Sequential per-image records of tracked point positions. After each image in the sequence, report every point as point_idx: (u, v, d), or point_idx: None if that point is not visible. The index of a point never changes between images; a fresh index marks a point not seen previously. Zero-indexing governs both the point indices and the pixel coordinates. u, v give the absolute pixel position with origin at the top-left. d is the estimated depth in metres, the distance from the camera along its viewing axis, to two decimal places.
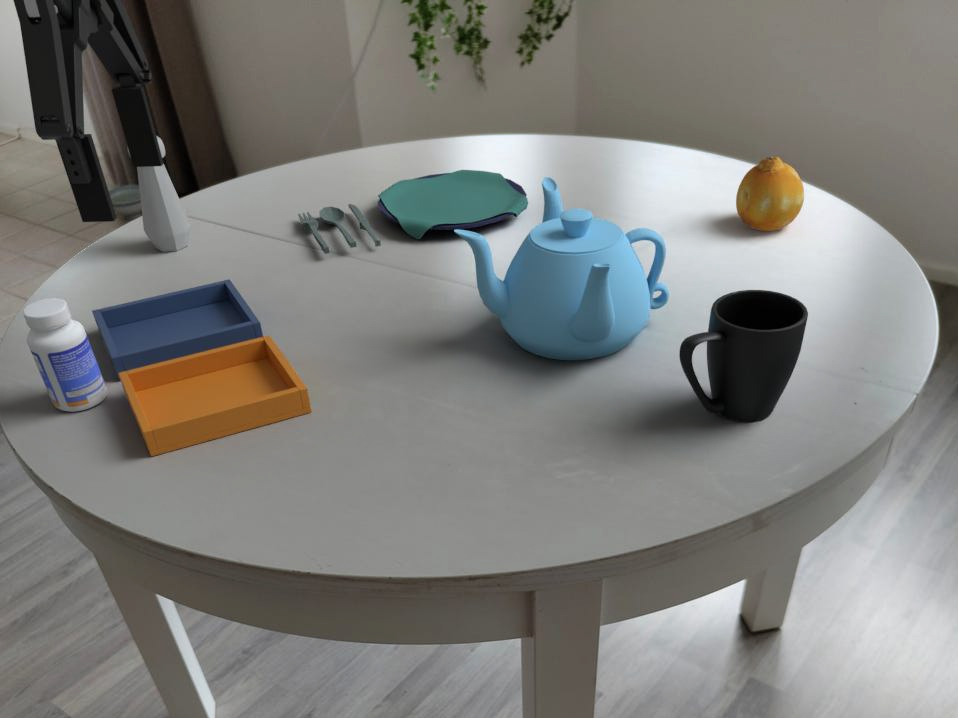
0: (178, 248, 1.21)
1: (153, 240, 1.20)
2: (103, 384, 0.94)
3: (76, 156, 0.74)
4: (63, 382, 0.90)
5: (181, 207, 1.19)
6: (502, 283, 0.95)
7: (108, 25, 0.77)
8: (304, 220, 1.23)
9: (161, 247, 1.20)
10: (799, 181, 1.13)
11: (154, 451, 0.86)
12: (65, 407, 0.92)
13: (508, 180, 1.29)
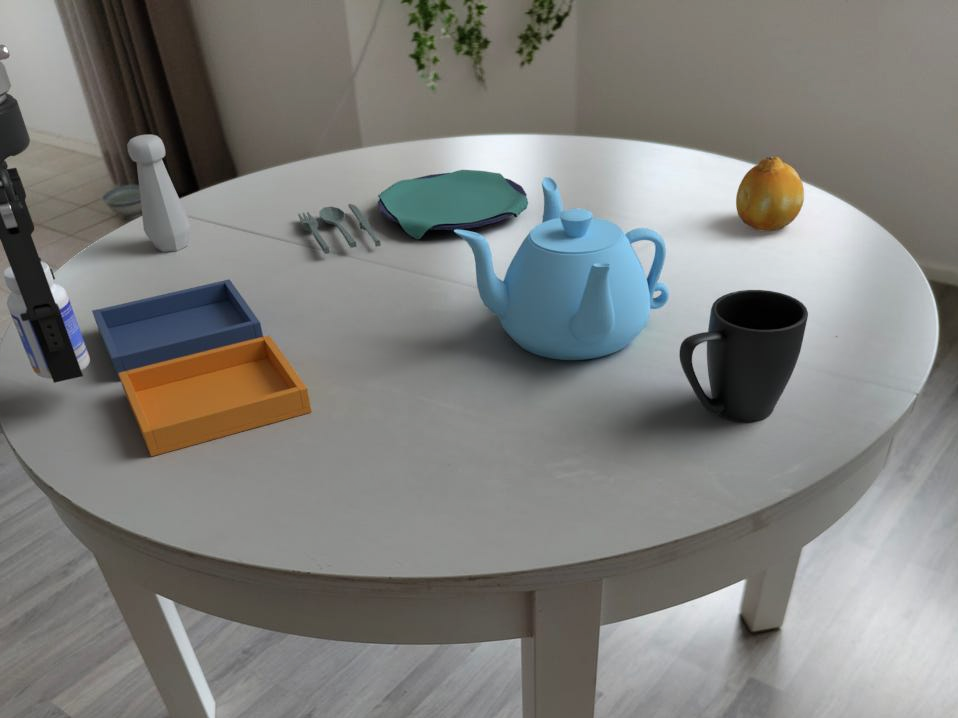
0: (178, 248, 1.21)
1: (153, 240, 1.20)
2: (85, 351, 0.91)
3: (55, 329, 0.85)
4: None
5: (181, 207, 1.19)
6: (502, 283, 0.95)
7: None
8: (304, 220, 1.23)
9: (161, 247, 1.20)
10: (799, 181, 1.13)
11: (154, 451, 0.86)
12: (45, 374, 0.90)
13: (508, 180, 1.29)
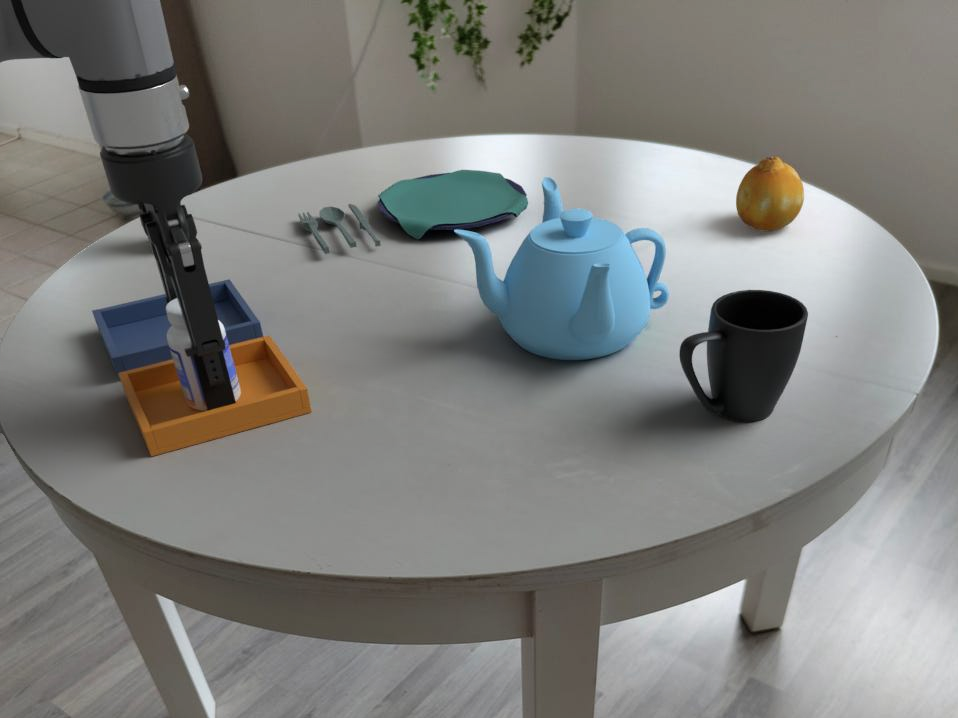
0: None
1: None
2: (238, 383, 0.91)
3: (217, 363, 0.85)
4: None
5: None
6: (502, 283, 0.95)
7: None
8: (304, 220, 1.23)
9: None
10: (799, 181, 1.13)
11: (154, 451, 0.86)
12: (201, 407, 0.90)
13: (508, 180, 1.29)
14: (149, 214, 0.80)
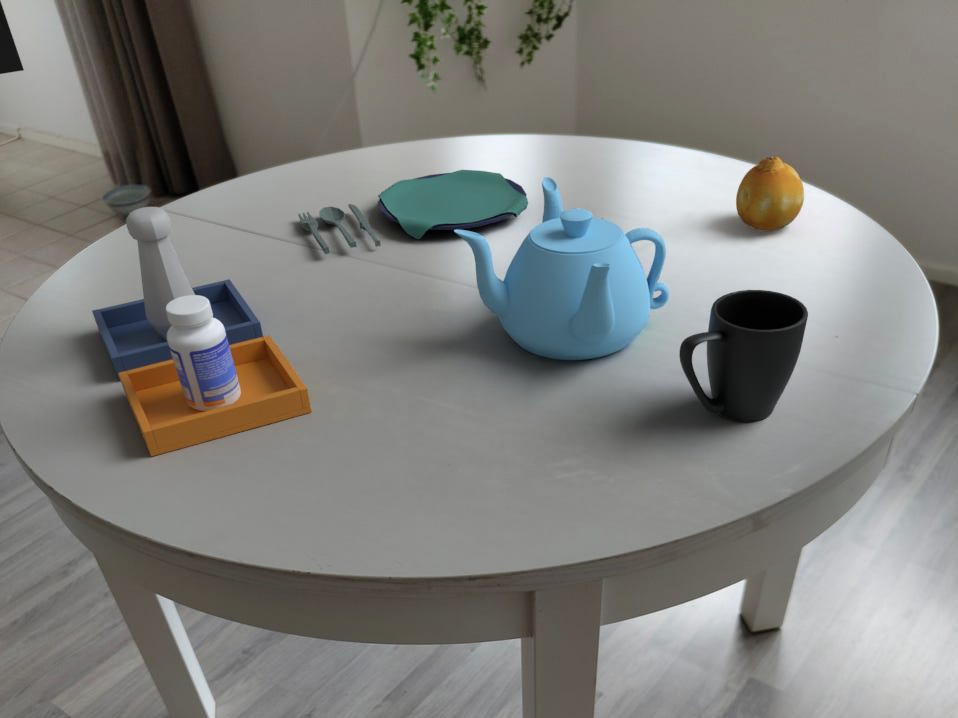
0: None
1: (157, 329, 1.00)
2: (238, 383, 0.91)
3: None
4: (202, 381, 0.88)
5: (190, 290, 0.99)
6: (502, 283, 0.95)
7: None
8: (304, 220, 1.23)
9: (166, 337, 1.01)
10: (799, 181, 1.13)
11: (154, 451, 0.86)
12: (201, 407, 0.90)
13: (508, 180, 1.29)
14: None
